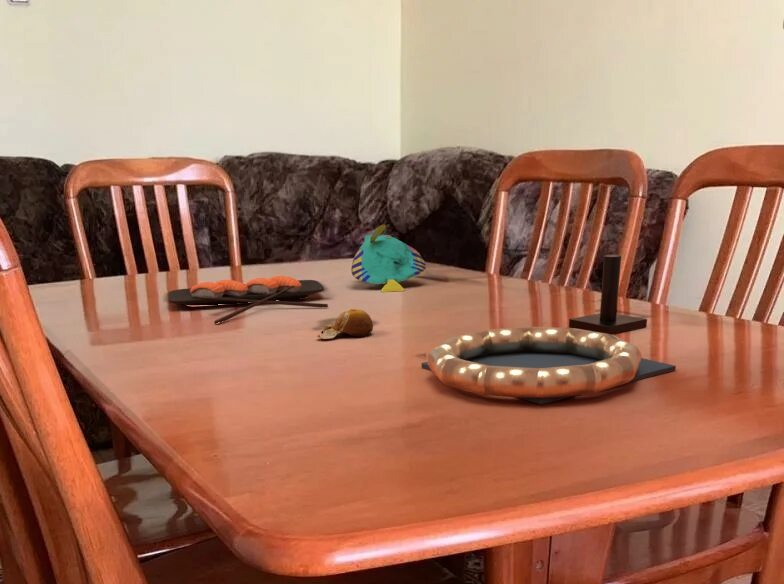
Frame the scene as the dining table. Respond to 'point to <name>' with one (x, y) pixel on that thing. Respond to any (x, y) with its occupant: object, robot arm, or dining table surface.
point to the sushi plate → (248, 293)
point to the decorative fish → (386, 261)
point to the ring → (535, 382)
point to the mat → (560, 365)
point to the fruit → (349, 324)
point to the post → (609, 305)
